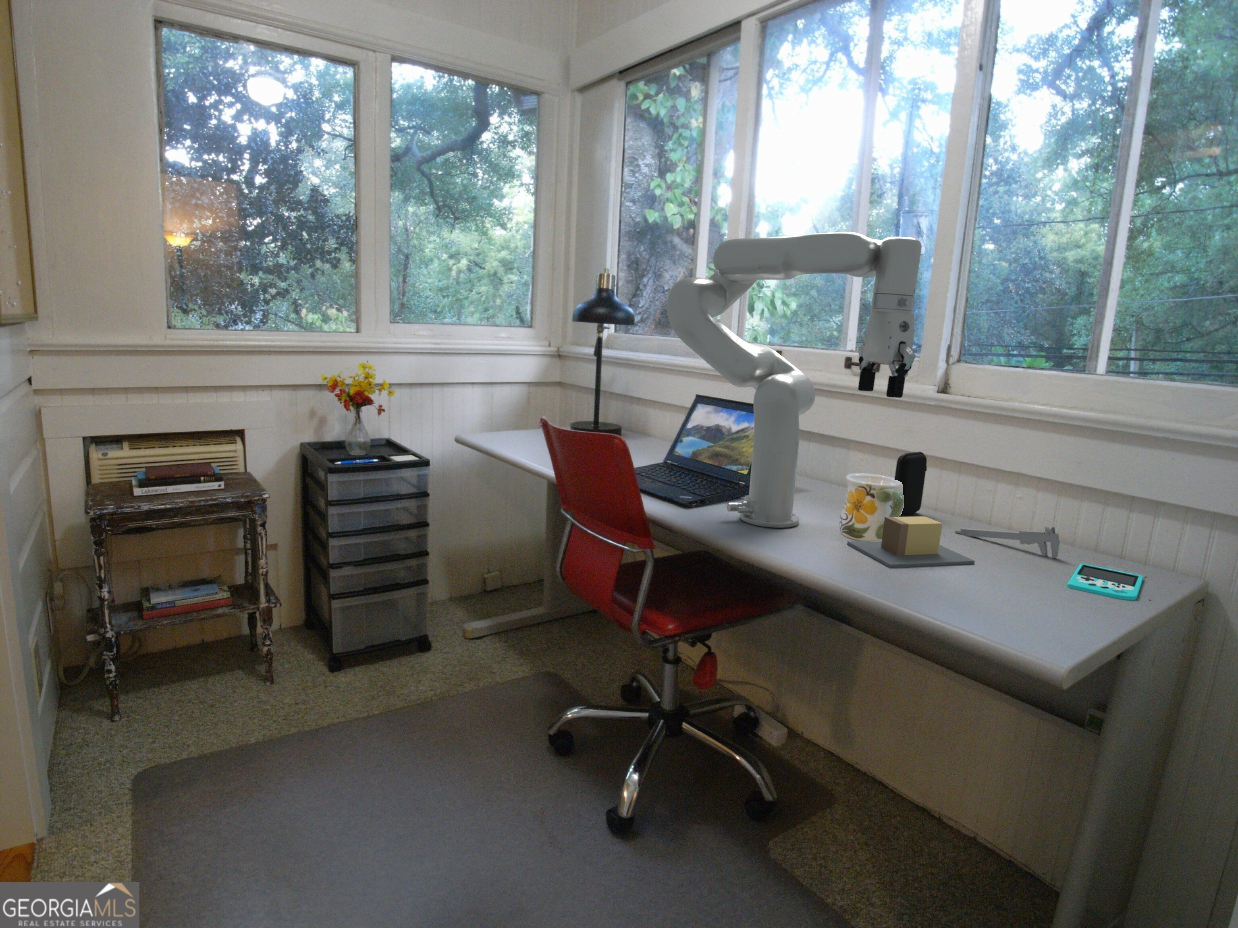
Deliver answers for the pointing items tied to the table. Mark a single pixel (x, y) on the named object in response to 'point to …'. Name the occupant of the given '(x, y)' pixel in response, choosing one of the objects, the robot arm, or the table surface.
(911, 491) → the carrying case or bag
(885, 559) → the desk mat
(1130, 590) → the handheld game console
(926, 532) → the card box
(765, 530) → the table surface
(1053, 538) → the caliper
